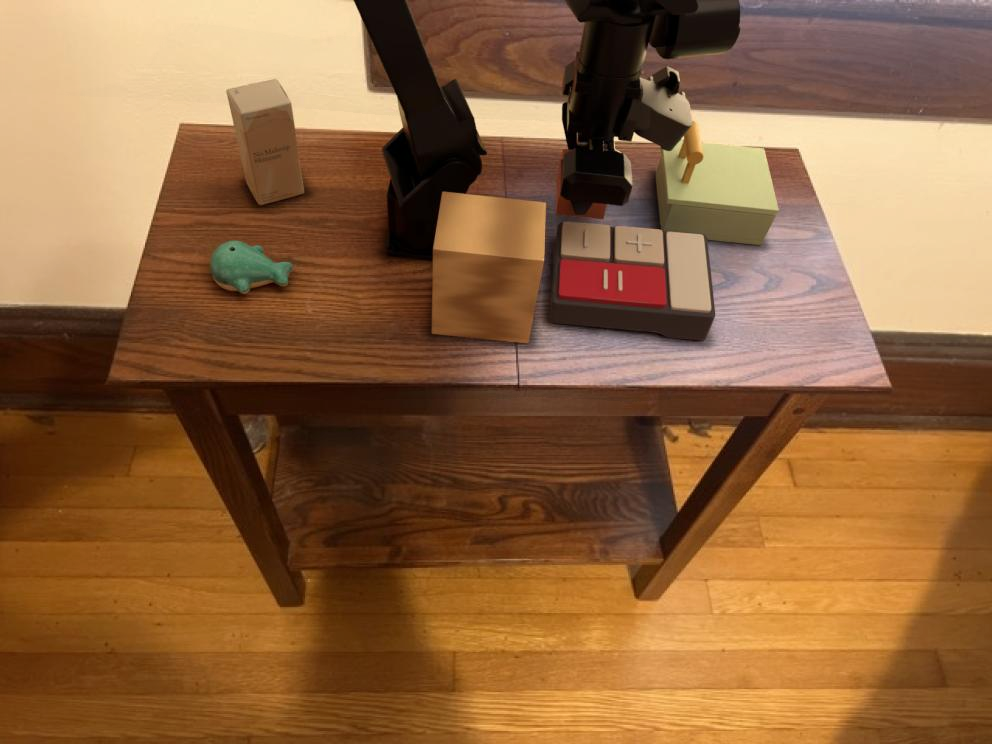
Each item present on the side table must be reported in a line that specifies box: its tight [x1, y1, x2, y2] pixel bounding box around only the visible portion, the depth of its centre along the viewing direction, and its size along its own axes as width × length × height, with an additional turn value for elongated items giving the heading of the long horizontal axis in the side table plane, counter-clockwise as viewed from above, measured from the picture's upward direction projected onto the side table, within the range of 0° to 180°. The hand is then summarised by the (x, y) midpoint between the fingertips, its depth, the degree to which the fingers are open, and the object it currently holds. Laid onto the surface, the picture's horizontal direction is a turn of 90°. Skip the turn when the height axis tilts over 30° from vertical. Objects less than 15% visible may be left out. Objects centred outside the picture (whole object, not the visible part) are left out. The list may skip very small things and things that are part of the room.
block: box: [555, 148, 608, 220], centre depth 76 cm, size 5×5×4 cm
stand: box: [431, 192, 547, 344], centre depth 65 cm, size 9×7×11 cm
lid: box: [660, 120, 780, 216], centre depth 76 cm, size 11×10×5 cm
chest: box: [655, 155, 777, 246], centre depth 79 cm, size 11×10×4 cm
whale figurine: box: [209, 240, 294, 295], centre depth 68 cm, size 6×7×4 cm
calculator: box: [549, 220, 716, 341], centre depth 71 cm, size 11×4×15 cm
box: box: [225, 78, 305, 206], centre depth 73 cm, size 5×4×11 cm
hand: (579, 196), depth 77 cm, fingers closed on block, 5 cm apart
